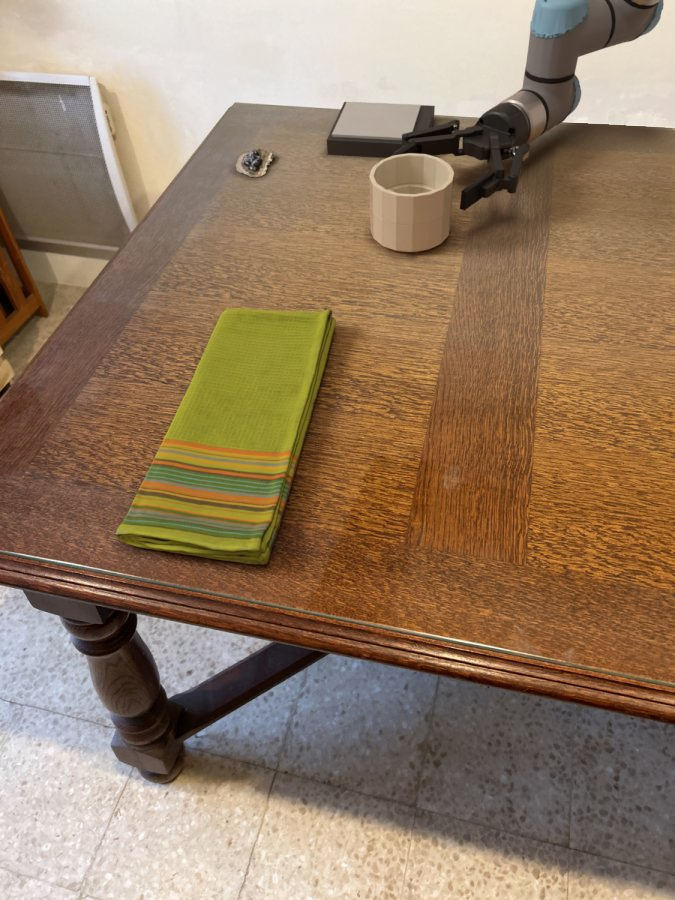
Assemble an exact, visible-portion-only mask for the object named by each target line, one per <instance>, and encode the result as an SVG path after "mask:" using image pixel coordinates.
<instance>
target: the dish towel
mask: <svg viewBox="0 0 675 900" xmlns="http://www.w3.org/2000/svg"><path fill="white" fill-rule="evenodd" d="M336 323H337V320H336V318H335V317H334V316H333V310H332V309H331V308H329V309H326V310H324V311H312V310H293V311H292V310H290V311H289V310H271V309H270V310H269V309H258V308H246V307H239V308H238V307H234V308H233V307H232V308H231V307H229V308H226V309H224V310H223V311H222V313H221V314H220V316H219V317H218V319H217V322H216V324H215V327H214V329H213V331H212V333H211V334H210V338H209V340H208V341H207V344H206V347H205V349H204V351H203V353H202V355H201V358H200V359H199V362H198V364H197V366H196V369H195V371H194V373H193V376H192V379H191V382H190V383H189V386H188V387H187V390H186V391H185V393H184V396H183V398H182V399H181V402H180V404H179V406H178V409H177V410H176V413H175V415H174V418H173V419H172V421H171V424H170V426H169V427H168V429H167V431H166V434H165V436H164V437H163V440H162V442H161V444H160V446H159V448H158V450H157V452H156V454H155V456H154V458H153V460H152V462H151V464H150V466H149V468H148V470H147V472H146V475H145V477H144V478H143V480H142V482H141V484H140V487H139V488H138V490H137V492H136V494H135V497H134V498H133V501H132V503H131V505H130V506H129V509H128V511H127V513H126V515H125V517H124V518H123V520H122V521H121V523H120V525H119V526H118V527H117V529H116V532H115V536H116V537H117V539H118V540H119V541H120V542H121V543H122V544H126V545H130V546H133V547H137V548H141V549H147V550H152V551H161V552H169V553H174V554H180V555H181V554H182V555H186V556H195V557H202V558H206V559H212V560H217V561H218V560H220V561H227V562H228V561H229V562H236V563H242V564H248V565H266V564H267V563H269V559H270V557H271V552H272V551H273V550H272V549H273V546H274V544H275V541H276V539H277V536H278V534H279V531H280V526H281V522H282V519H283V516H284V512H285V510H286V506H287V503H288V499H289V497H290V492H291V488H292V484H293V481H294V478H295V474H296V469H297V466H298V463H299V460H300V456H301V453H302V450H303V446H304V443H305V439H306V435H307V432H308V428H309V425H310V422H311V418H312V415H313V410H314V405H315V403H316V400H317V396H318V393H319V391H320V386H321V383H322V379H323V375H324V373H325V369H326V365H327V361H328V357H329V351H330V347H331V344H332V341H333V336H334V331H335V328H336Z"/></svg>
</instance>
